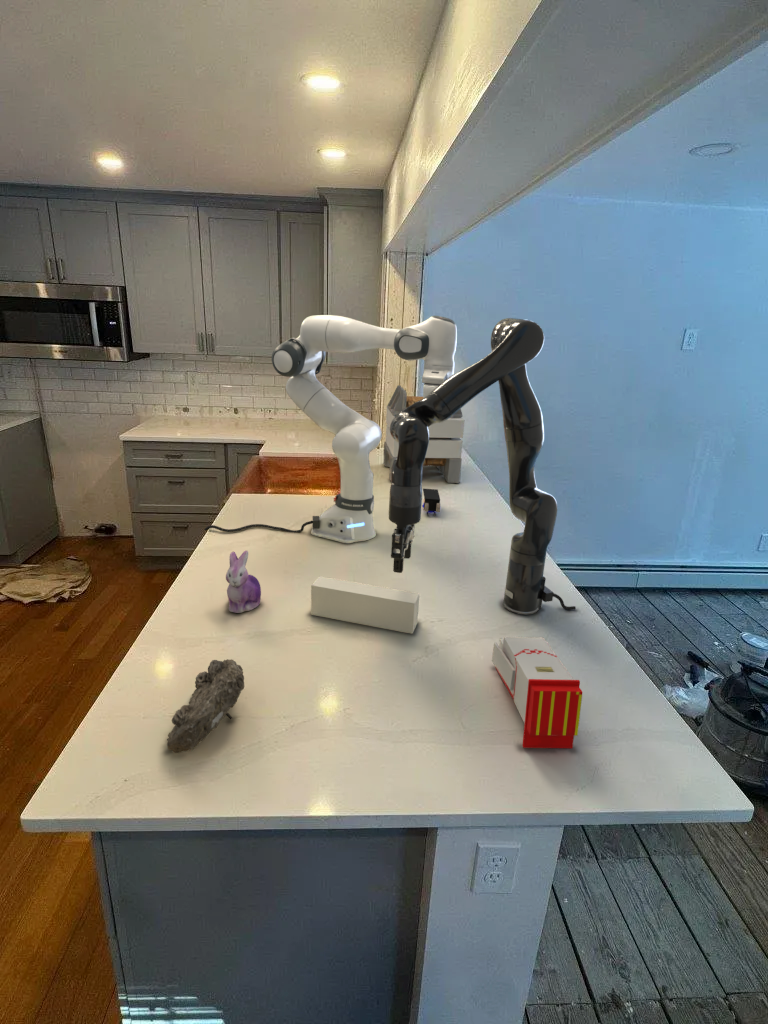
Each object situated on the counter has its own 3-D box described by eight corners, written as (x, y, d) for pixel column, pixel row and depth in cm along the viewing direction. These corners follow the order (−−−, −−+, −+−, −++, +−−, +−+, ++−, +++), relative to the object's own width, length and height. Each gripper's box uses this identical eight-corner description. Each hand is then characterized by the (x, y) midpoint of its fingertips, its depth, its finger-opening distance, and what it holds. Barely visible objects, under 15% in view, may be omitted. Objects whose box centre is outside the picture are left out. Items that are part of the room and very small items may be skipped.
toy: (540, 620, 128) (592, 687, 99) (535, 674, 131) (584, 755, 102) (487, 619, 128) (523, 686, 99) (483, 673, 131) (517, 754, 101)
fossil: (192, 660, 117) (244, 628, 112) (224, 691, 120) (276, 661, 115) (142, 746, 98) (202, 712, 93) (182, 779, 101) (242, 748, 96)
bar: (311, 614, 145) (311, 585, 142) (319, 604, 150) (319, 575, 148) (412, 634, 139) (414, 603, 136) (417, 622, 144) (419, 593, 141)
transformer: (382, 463, 289) (386, 382, 275) (445, 464, 293) (451, 384, 279) (390, 482, 257) (394, 392, 243) (460, 483, 261) (468, 394, 247)
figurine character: (440, 521, 217) (436, 504, 231) (442, 503, 214) (438, 487, 227) (423, 520, 217) (420, 503, 230) (424, 502, 214) (421, 486, 227)
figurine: (230, 617, 142) (227, 563, 137) (221, 599, 150) (218, 547, 145) (267, 610, 146) (266, 557, 141) (256, 593, 154) (255, 542, 149)
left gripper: (434, 370, 177) (430, 414, 181) (420, 377, 158) (416, 426, 163) (454, 372, 175) (449, 416, 180) (443, 379, 157) (438, 428, 161)
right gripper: (415, 513, 124) (411, 579, 129) (427, 493, 137) (423, 555, 142) (381, 508, 125) (379, 574, 131) (396, 490, 138) (394, 551, 144)
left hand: (434, 421), depth 171 cm, fingers open, 8 cm apart
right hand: (402, 564), depth 137 cm, fingers open, 8 cm apart
